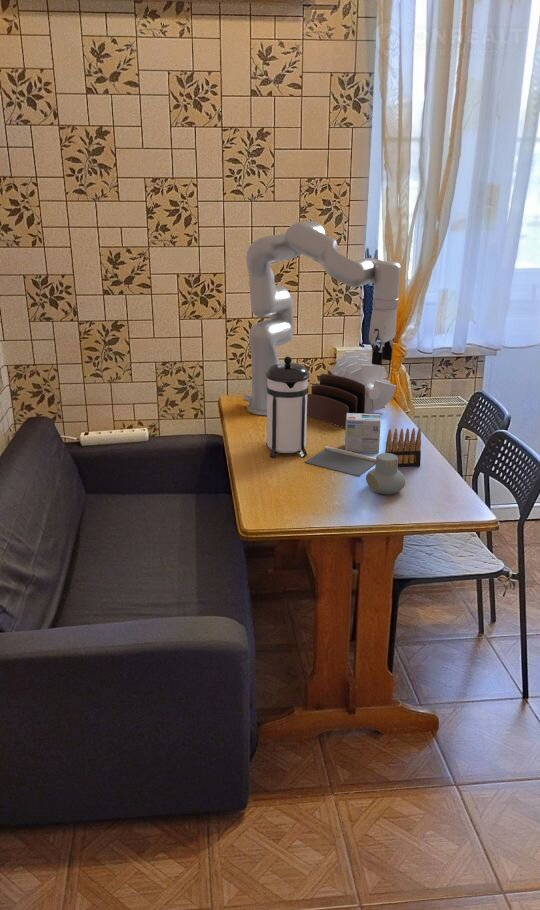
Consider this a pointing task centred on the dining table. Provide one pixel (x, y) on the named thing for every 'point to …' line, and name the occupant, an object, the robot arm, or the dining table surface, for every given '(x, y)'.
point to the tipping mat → (343, 461)
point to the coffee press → (286, 407)
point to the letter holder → (335, 399)
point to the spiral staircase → (366, 378)
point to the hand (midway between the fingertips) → (381, 361)
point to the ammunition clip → (405, 448)
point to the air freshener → (386, 475)
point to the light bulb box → (362, 432)
